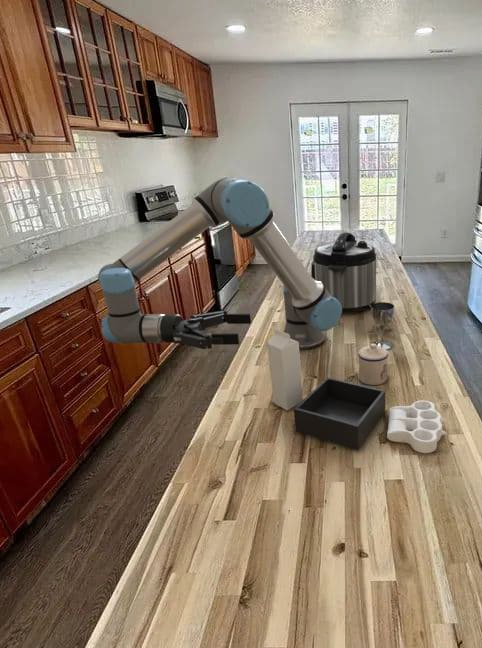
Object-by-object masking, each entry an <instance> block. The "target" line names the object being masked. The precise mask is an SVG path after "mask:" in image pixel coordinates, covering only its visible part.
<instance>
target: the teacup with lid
mask: <svg viewBox="0 0 482 648" xmlns="http://www.w3.org/2000/svg"><path fill="white" fill-rule="evenodd" d="M357 356H358V379H359V381H360V382H361V383H363V384H366V385H368V386H379V385H381V384H384V383H385V382H386V381H387V380H388V357H389V352H388V349H384V348H382V347H379V346H377V345H376V344H373V343H370V344H369V345H367V346H364V347H362V348H360V350H358V353H357Z"/></svg>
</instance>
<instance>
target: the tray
mask: <svg viewBox="0 0 482 648" xmlns="http://www.w3.org/2000/svg"><path fill="white" fill-rule="evenodd" d="M386 394H387V391H386V390H384V389H380V388H375V387H372V386H367V385H362V384H358V383H353V382H350V381H346V380H341V379H337V378H333V377H328V376H327V377H325V379H323V380H322V381H321V382H320V383H319V384H318V385H317V386H316V387H315V388H314V389H313V390H312V391H311V392H310V393H309V394H308V395H306V397H304V398H303V401H302V402H300V403H299V404H298V405H296V406H295V407H293V417H294V429H295V432H296V433H299V434H302V435H305V436H308V437H312V438H315V439H318V440H321V441H325V442H327V443H332V444H334V445H338V446H341V447H344V448H348V449H351V450H354V451H359V450H360V449H361V447H362V446H363V445H364V443H365V441H366V440H367V439H368V438H369V436H370V435H371V433H372V432H373V430H374V429H375V428H376V426H377V425H378V424H379V422H380V421H381V420H382V418H383V416H384V415H385V413H386Z"/></svg>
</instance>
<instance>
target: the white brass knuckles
mask: <svg viewBox="0 0 482 648" xmlns="http://www.w3.org/2000/svg"><path fill="white" fill-rule="evenodd" d="M387 421H388V424H387V432H386V438H387V439H388V440H389V441H391V442H394V443H405V444H406V443H407V444H408V445H410V447H411V448H412V449H413V450H414V451H415V452H418V453H420V454H421V453H422V454H430V453H433V452H435V451H436V450H437V447H438V442H439V441H441V438H442V436H445V435H448V433H447V432H446V431H445V430H443V427H444V426H443V424H442V423H443V422H445V421H447V419H446V418H444V417H442V415H441V413H440V412H438V411H437V410H436V404H435V403H433V402H431V401H429V400H417V401H414V402H413V403H412V404H411V405H395V406H392V407H390V408H389V412H388V420H387Z"/></svg>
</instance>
